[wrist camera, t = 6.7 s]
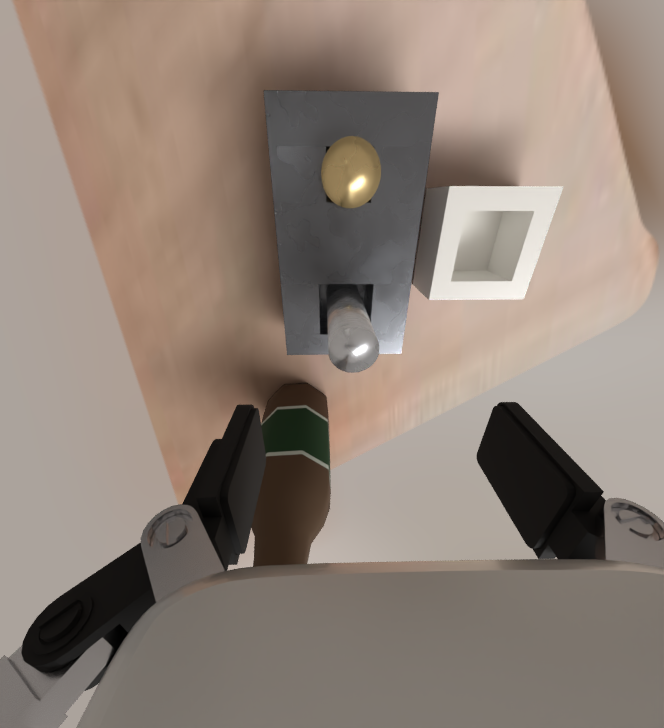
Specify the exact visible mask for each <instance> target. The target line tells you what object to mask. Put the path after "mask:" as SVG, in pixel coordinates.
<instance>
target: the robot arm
mask: <svg viewBox="0 0 664 728" xmlns="http://www.w3.org/2000/svg"><path fill="white" fill-rule="evenodd" d="M477 461H478V463H479V465H480V467H481V469H482V470H483V472H484V474H485V475H486V477H487V479H488V480H489V482H490V484H491V485H492V487H493V489H494V491H495V492H496V494H497V496H498V497H499V499H500V500H501V502H502V504H503V506H504V507H505V509H506V511H507V513H508V514H509V516H510V518H511V519H512V521H513V523H514V524H515V526H516V528H517V529H518V531H519V533H520V534H521V536H522V538H523V540H524V541H525V543H526V544H527V545H528V546H529V547H530V548H532V549H533V550H534V552H535V553H536V555H537V557H538V560H537V559H530V560H460V561H409V562H407V561H406V562H362V563H320V564H294V565H270V566H258V567H247V568H239V569H234V570H229V571H227V569H228V565H232V564H233V565H234V564H235V565H236V564H237V562H238V558H239V555H240V553H241V554H242V553H245V551H246V547H247V543H248V539H249V534H250V530H251V526H252V522H253V517H254V513H255V509H256V505H257V500H258V496H259V492H260V487H261V483H262V479H263V475H264V470H265V466H266V453H265V447H264V441H263V434H262V428H261V422H260V416H259V410H258V408H254V406H253V405H237V407H236V409H235V411H234V413H233V415H232V418H231V420H230V422H229V424H228V427H227V429H226V431H225V433H224V435H223V438H222V439H215V440H214V441H213V442H212V444H211V446H210V448H209V450H208V452H207V454H206V456H205V458H204V460H203V462H202V465H201V467H200V469H199V471H198V473H197V475H196V477H195V479H194V481H193V483H192V485H191V487H190V489H189V491H188V494H187V496H186V498H185V500H184V502H183V504H180V505H175V506H171V507H169V508H167V509H165V510H163V511H161V512H160V513H158V514H157V515H155V517H154V518H153V519H152V520H151V521H150V522H149V523H148V524H147V526H146V527H145V529H144V530H143V533H142V537H141V543H139V544H138V545H136V546H135V547H133V548H132V549H130V550H129V551H127V552H126V553H124V554H123V555H121V556H120V557H119V558H117V559H115V560H114V561H112V562H111V563H109V564H108V565H106V566H105V567H103V568H102V569H100V570H99V571H97V572H96V573H94V574H93V575H91V576H90V577H88V578H87V579H85V580H84V581H82V582H81V583H79V584H78V585H76V586H75V587H73V588H72V589H70V590H69V591H67V592H66V593H64V594H63V595H62V596H60V597H59V598H57V599H56V600H55V601H54V602H52V603H51V604H50V605H48V606H47V607H46V608H45V610H44V611H43V612H42V613H41V614H40V615H39V616H38V617H37V618H36V620H35V621H34V623H33V624H32V625H31V627H30V628H29V630H28V632H27V634H26V636H25V638H24V641H23V645H22V646H21V647H20V648H19V649H18V650H16V652H14V653H13V654H12V655H11V656H10V657H9V658H8V657H6V656H5V655H4V656H3V657H2V658H1V659H0V728H58V727H59V726H60V725H61V724H62V723H63V722H64V720H65V719H66V718H67V715H66V714H65V713H66V712H67V711H68V710H69V708H70V707H71V706H72V704H74V702H75V701H76V700H77V699H78V697H79V696H80V695H81V694H82V693H83V692H84V691H86V690H88V689H91V688H92V687H94V686H95V685H97V684H98V683H99V684H98V686H97V688H96V690H95V692H94V694H93V696H92V698H91V700H90V702H89V704H88V706H87V708H86V710H85V712H84V714H83V716H82V717H81V720H80V722H79V724H78V726H77V728H664V522H663V521H662V520H661V519H659V518H658V517H657V516H656V515H655V514H653V513H652V512H650V511H649V510H647V509H646V508H644V507H642V506H640V505H638V504H636V503H634V502H631V501H628V500H626V499H620V498H610V499H608V500H605V499H604V498H603V497H602V496H601V495H602V493H603V490H601V488H600V487H599V486H598V485H597V484H596V483H595V482H594V481H593V480H592V479H591V478H590V477H589V476H588V475H587V474H586V473H585V472H584V471H583V470H582V469H581V468H580V467H579V466H578V465H577V464H576V463H575V462H574V461H573V460H572V459H571V457H570V456H569V455H568V454H567V453H566V452H565V451H564V450H563V449H562V448H561V447H560V446H559V445H558V444H557V443H556V442H555V441H554V440H553V439H552V438H551V437H550V436H549V435H548V434H547V433H546V432H545V431H544V430H543V429H542V428H541V427H540V426H539V424H537V422H536V421H535V420H534V419H533V418H532V417H531V416H530V415H529V414H528V413H527V412H526V411H525V410H524V409H523V408H522V407H521V406H520V405H519V404H518V403H516V402H501V403H499V404H498V405H497V406H495V407H494V408H493V410H492V413H491V416H490V419H489V422H488V424H487V427H486V430H485V433H484V436H483V438H482V441H481V444H480V447H479V450H478V452H477ZM555 557H557V558H558V559H554V558H555Z"/></svg>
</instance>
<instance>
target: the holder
mask: <svg viewBox="0 0 664 728" xmlns="http://www.w3.org/2000/svg"><path fill="white" fill-rule="evenodd" d="M563 187H564V186H446V187H436V188H427V189H426V196H425V202H424V209H423V216H422V223H421V230H420V237H419V243H418V250H417V257H416V264H415V271H414V278H413V285H414V286H415V287H416V288H417V289H418V290H419V291H420V292H421V293H422V294H423V295H424V296H425V297H426V298H428V299H429V300H495V299H524V297H525V294H526V291H527V288H528V286H529V283H530V280H531V277H532V274H533V271H534V269H535V266H536V263H537V260H538V257H539V254H540V252H541V249H542V246H543V243H544V240H545V238H546V235H547V232H548V229H549V226H550V223H551V221H552V218H553V215H554V212H555V209H556V207H557V204H558V201H559V198H560V195H561V192H562V190H563Z"/></svg>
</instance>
